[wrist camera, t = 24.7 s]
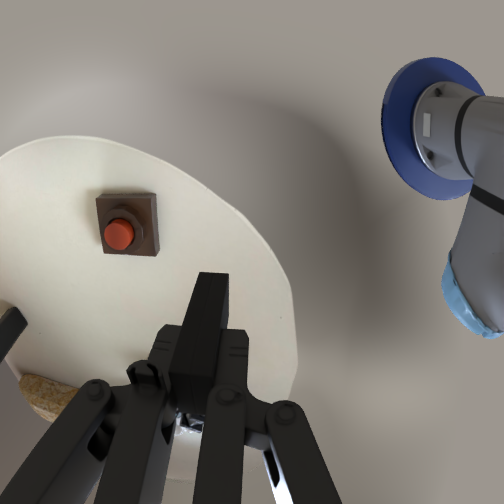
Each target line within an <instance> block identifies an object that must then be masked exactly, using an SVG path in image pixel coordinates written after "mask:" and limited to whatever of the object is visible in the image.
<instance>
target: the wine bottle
mask: <svg viewBox="0 0 504 504" xmlns="http://www.w3.org/2000/svg"><path fill="white" fill-rule="evenodd" d="M27 325H28V324H27V321H26V320H25V318H24V317H23V316H22V314H21V313H20V311H19V310H18V309H17V308H16V307H13V308H11V309H8V310H7V311H6V312H5V314H4V315H3V316H2V317H1V318H0V363H1V362H2V360H3V359H4V357H5V356H6V354H7V353H8V351H9V350H10V349H11V347H12V346H13V344H14V343H15V341H16V340H17V339H18V337H19V336H20V334H21V333H22V332H23V330H24V329H25V328H26V326H27Z"/></svg>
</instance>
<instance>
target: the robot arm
mask: <svg viewBox="0 0 504 504" xmlns="http://www.w3.org/2000/svg"><path fill="white" fill-rule="evenodd" d="M410 133H411V139H412V143H413V146H414V149H415V151H416V154H417V156H418V157H419V159H420V161H421V162H422V163H423V164H424V166H425V167H426V168H427V169H428V170H430V171H431V172H433V173H434V174H436V175H438V176H440V177H443V178H446V179H450V180H467V179H474V180H473V184H472V188H471V192H470V195H469V198H468V202H467V205H466V209H465V212H464V216H463V219H462V222H461V225H460V228H459V231H458V234H457V237H456V239H455V242H454V245H453V247H452V248H451V250H450V252H449V255H448V262H447V265H446V268H445V270H444V273H443V276H442V290H443V295H444V298H445V300H446V303H447V304H448V306H449V308H450V309H451V311H452V312H453V314H454V315H455V316H456V317H457V318H458V320H459V321H460V322H461V323H462V324H463V325H465V326H466V327H467V328H468V329H469V330H471V331H472V332H474V333H476V334H477V335H479V334H482V335H483V337H484V338H488V339H494V338H497V337H499V336H500V335H502V334H503V333H504V98H503V97H494V96H483V95H479V94H477V93H476V92H474V91H472V90H470V89H468V88H466V87H465V86H463V85H460V84H458V83H454V82H449V81H441V82H434V83H431V84H429V85H428V86H426V87H425V88H424V89H423V90H422V91H421V92H420V93H419V94H418V96H417V97H416V99H415V101H414V104H413V107H412V110H411V116H410ZM228 317H229V274H227V273H209V272H199V275H198V278H197V281H196V284H195V287H194V290H193V293H192V296H191V299H190V302H189V305H188V308H187V312H186V315H185V318H184V321H183V324H182V326H178V325H168V324H165V325H164V326H163V327H162V328H161V329H160V330H159V331H158V333H157V336H156V339H155V342H154V344H153V346H152V349H151V352H150V354H149V357H148V360H140V361H137V362H134V363H133V364H131V365H130V366H129V367H128V369H127V370H126V372H127V374H128V377H129V379H130V382H131V384H129V385H125V386H113V387H110V386H109V384H108V383H107V382H105V381H104V380H100V379H92V380H90V381H87V382H86V383H85V384H84V385H83V386H82V387H81V388H80V389H79V391H78V392H77V393H76V394H75V396H74V397H73V398H72V399H71V401H70V402H69V403H68V404H67V406H66V407H65V408H64V409H63V411H62V412H61V413H60V415H59V416H58V417H57V418H56V420H55V421H54V422H53V424H52V425H51V426H50V428H49V429H48V430H47V431H46V433H45V434H44V436H43V437H42V438H41V439H40V441H39V442H38V443H37V445H36V446H35V447H34V449H33V450H32V451H31V453H30V454H29V456H28V457H27V458H26V460H25V461H24V462H23V464H22V465H21V467H20V468H19V469H18V471H17V472H16V474H15V475H14V477H13V478H12V479H11V481H10V482H9V484H8V485H7V486H6V488H5V489H4V491H3V492H2V494H1V496H0V504H84V503H85V501H86V499H87V498H88V496H89V495H90V493H91V491H92V490H93V488H94V486H95V485H96V483H97V482H98V480H99V478H100V477H101V479H100V482H99V486H98V490H97V493H96V497H95V500H94V504H161V501H162V496H163V490H164V485H165V480H166V475H167V469H168V464H169V459H170V454H171V449H172V444H173V439H174V434H175V429H176V417H175V414H176V410H177V408H178V411H179V412H180V413H187V414H195V415H204V416H205V419H204V426H203V432H202V439H201V446H200V452H199V459H198V466H197V473H196V481H195V489H194V495H193V504H241V494H242V475H243V456H244V445H246V446H249V447H252V448H255V449H258V450H261V452H262V456H263V459H264V463H265V466H266V469H267V473H268V476H269V480H270V483H271V486H272V489H273V493H274V496H275V499H276V502H277V504H342V502H341V500H340V497H339V495H338V492H337V490H336V488H335V486H334V483H333V481H332V478H331V476H330V473H329V471H328V469H327V466H326V464H325V462H324V459H323V457H322V454H321V452H320V450H319V447H318V445H317V442H316V440H315V437H314V435H313V432H312V430H311V428H310V425H309V423H308V420H307V418H306V416H305V413H304V411H303V409H302V408H301V407H300V406H299V405H298V404H296V403H295V402H292V401H288V400H282V401H277V402H275V403H273V404H270V403H267V402H263V401H261V400H258V399H256V398H255V397H254V396H252V394H251V393H250V392H249V390H248V388H247V372H248V350H249V337H248V335H247V333H246V332H245V330H239V329H227V324H228Z"/></svg>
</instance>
